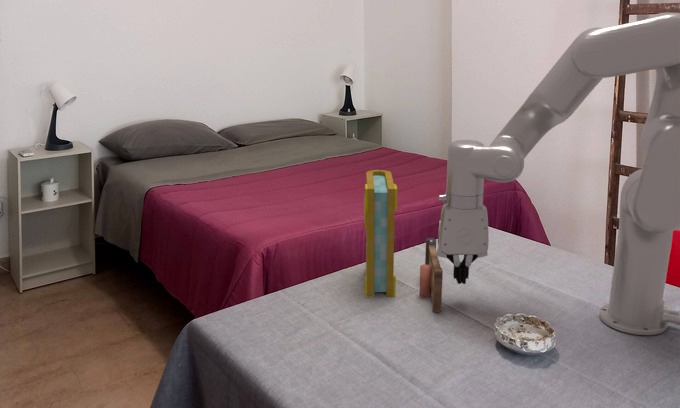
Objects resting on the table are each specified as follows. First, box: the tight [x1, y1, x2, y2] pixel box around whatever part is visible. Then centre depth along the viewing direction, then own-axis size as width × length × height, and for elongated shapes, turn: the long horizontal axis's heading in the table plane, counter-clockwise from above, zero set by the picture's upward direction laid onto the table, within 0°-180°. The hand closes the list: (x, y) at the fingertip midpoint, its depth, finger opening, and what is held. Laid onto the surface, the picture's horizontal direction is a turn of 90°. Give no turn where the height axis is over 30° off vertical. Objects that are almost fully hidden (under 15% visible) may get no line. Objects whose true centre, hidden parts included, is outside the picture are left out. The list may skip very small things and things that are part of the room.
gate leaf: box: [428, 245, 444, 313], centre depth 136 cm, size 16×2×9 cm, turn 177°
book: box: [363, 169, 398, 298], centre depth 142 cm, size 17×7×25 cm, turn 179°
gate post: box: [424, 237, 437, 265], centre depth 145 cm, size 2×2×10 cm
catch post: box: [418, 263, 431, 299], centre depth 137 cm, size 2×2×7 cm
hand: (460, 281), depth 133 cm, fingers closed
